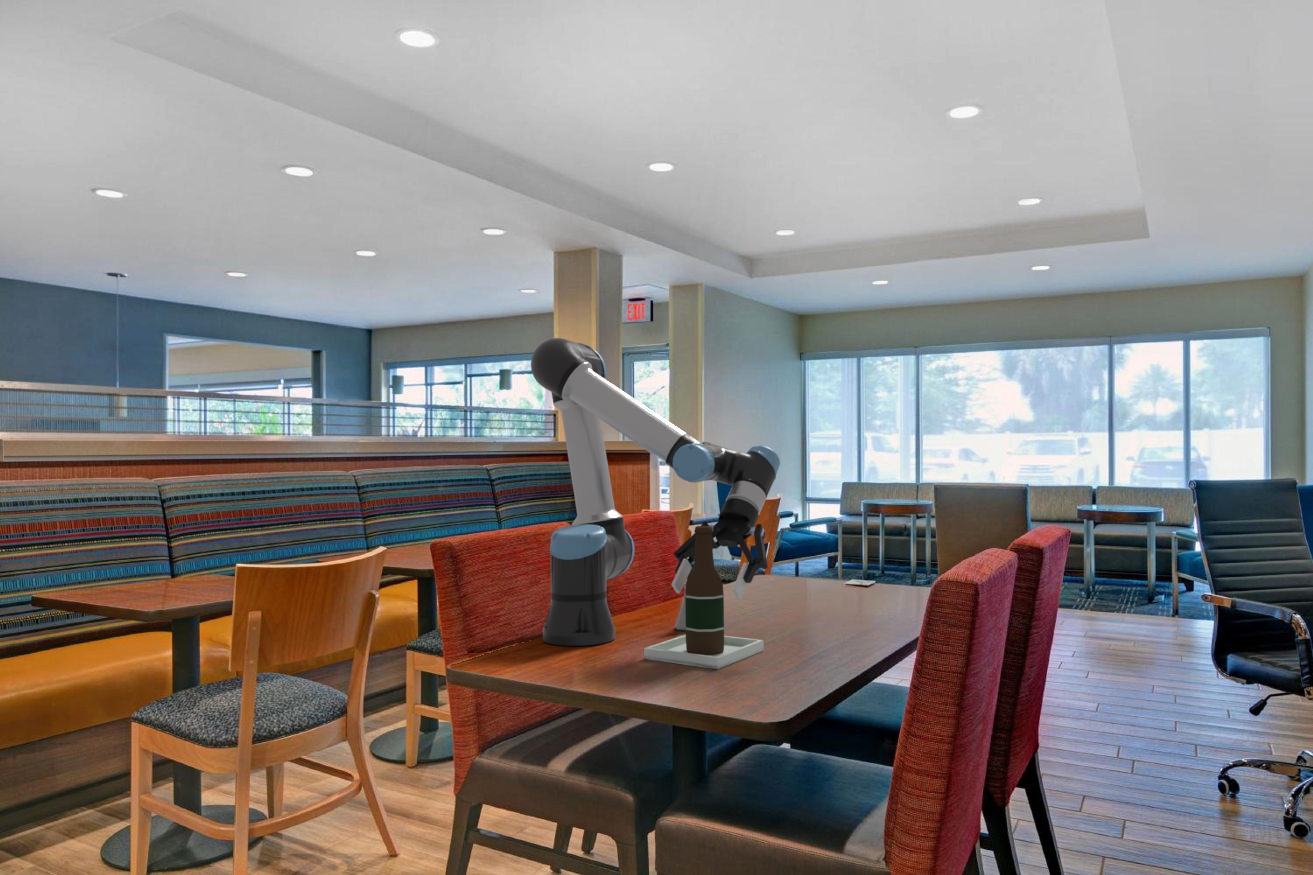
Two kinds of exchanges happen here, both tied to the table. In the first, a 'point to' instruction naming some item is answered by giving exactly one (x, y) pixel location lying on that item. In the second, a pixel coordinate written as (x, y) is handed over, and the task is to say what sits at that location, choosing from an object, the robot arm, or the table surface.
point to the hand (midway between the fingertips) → (705, 591)
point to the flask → (681, 616)
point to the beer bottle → (704, 600)
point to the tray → (678, 654)
